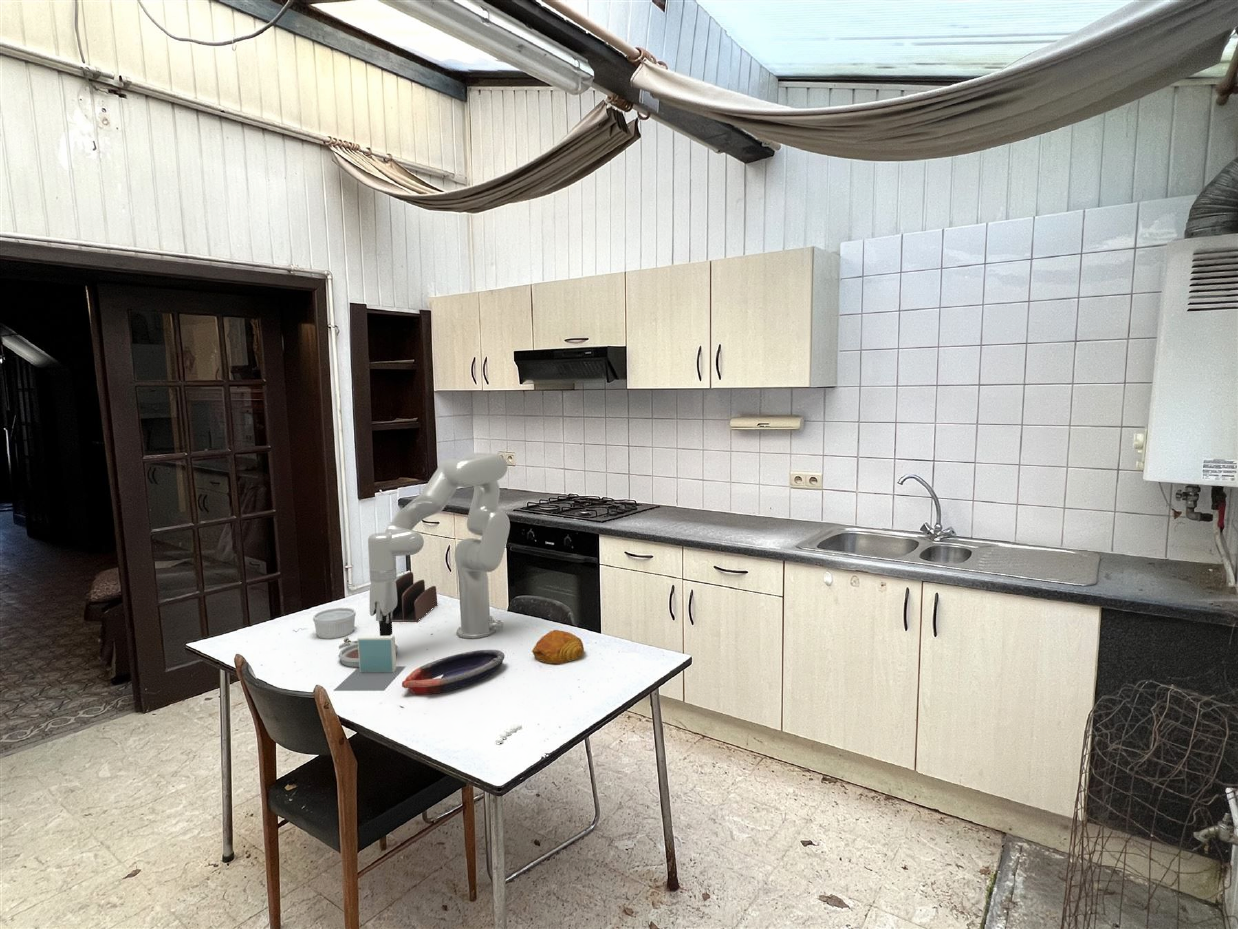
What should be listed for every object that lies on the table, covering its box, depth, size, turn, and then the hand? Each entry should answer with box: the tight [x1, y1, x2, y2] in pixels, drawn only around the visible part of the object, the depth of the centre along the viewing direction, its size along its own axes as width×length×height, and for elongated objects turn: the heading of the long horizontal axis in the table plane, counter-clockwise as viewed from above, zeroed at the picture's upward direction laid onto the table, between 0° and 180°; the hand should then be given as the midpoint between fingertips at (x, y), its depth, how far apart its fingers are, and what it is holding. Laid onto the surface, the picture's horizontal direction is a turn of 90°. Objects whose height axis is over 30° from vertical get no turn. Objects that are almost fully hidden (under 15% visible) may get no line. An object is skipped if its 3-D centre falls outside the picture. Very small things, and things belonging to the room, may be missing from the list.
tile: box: [356, 635, 397, 672], centre depth 193 cm, size 10×2×10 cm, turn 87°
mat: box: [332, 665, 407, 692], centre depth 189 cm, size 14×16×1 cm
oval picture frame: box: [337, 636, 399, 668], centre depth 208 cm, size 17×3×28 cm
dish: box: [401, 649, 506, 695], centre depth 187 cm, size 16×31×5 cm, turn 130°
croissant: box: [531, 629, 585, 665], centre depth 203 cm, size 14×16×8 cm
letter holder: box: [392, 571, 439, 623], centre depth 245 cm, size 10×20×14 cm, turn 174°
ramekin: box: [312, 607, 356, 640], centre depth 227 cm, size 13×13×7 cm
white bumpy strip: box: [495, 723, 523, 744], centre depth 155 cm, size 15×4×2 cm, turn 151°
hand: (386, 635), depth 201 cm, fingers closed
